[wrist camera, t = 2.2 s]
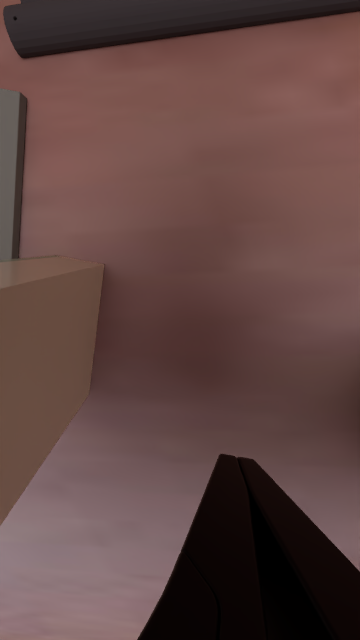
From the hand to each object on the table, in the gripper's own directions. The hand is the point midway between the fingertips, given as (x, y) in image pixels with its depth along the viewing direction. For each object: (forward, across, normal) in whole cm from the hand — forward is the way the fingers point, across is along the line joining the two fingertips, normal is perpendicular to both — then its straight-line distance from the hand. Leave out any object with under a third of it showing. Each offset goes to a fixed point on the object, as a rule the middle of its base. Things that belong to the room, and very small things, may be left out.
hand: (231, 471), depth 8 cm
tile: (+9, +7, 0) cm, 11 cm away
